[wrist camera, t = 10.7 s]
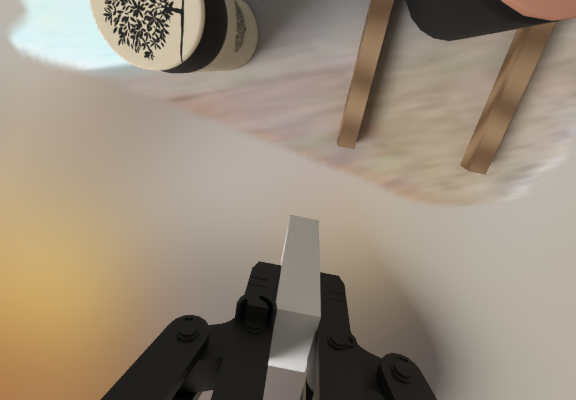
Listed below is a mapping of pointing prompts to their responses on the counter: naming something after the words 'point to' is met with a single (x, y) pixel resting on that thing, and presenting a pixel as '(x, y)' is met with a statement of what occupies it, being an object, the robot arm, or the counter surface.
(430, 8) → the coffee jar
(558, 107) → the counter surface
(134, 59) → the travel mug
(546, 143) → the counter surface
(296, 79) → the counter surface
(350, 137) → the bay
